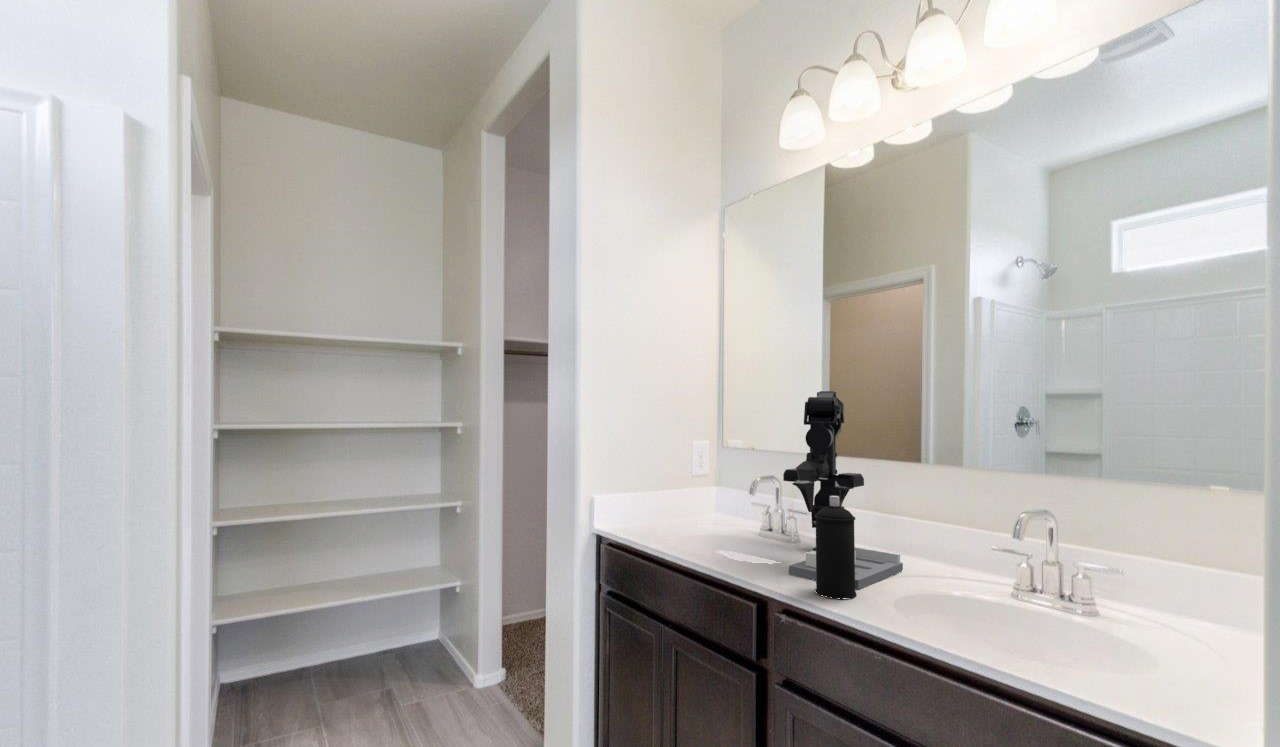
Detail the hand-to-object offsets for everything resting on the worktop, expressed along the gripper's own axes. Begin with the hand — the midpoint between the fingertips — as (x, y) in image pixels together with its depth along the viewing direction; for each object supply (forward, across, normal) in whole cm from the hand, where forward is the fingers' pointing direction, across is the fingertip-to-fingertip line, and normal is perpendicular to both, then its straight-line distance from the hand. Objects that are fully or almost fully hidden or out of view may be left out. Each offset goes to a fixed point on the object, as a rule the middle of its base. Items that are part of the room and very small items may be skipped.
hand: (822, 513), depth 152 cm
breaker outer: (+11, +2, -7) cm, 13 cm away
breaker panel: (+13, +6, 0) cm, 14 cm away
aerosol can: (+13, +12, -17) cm, 25 cm away
